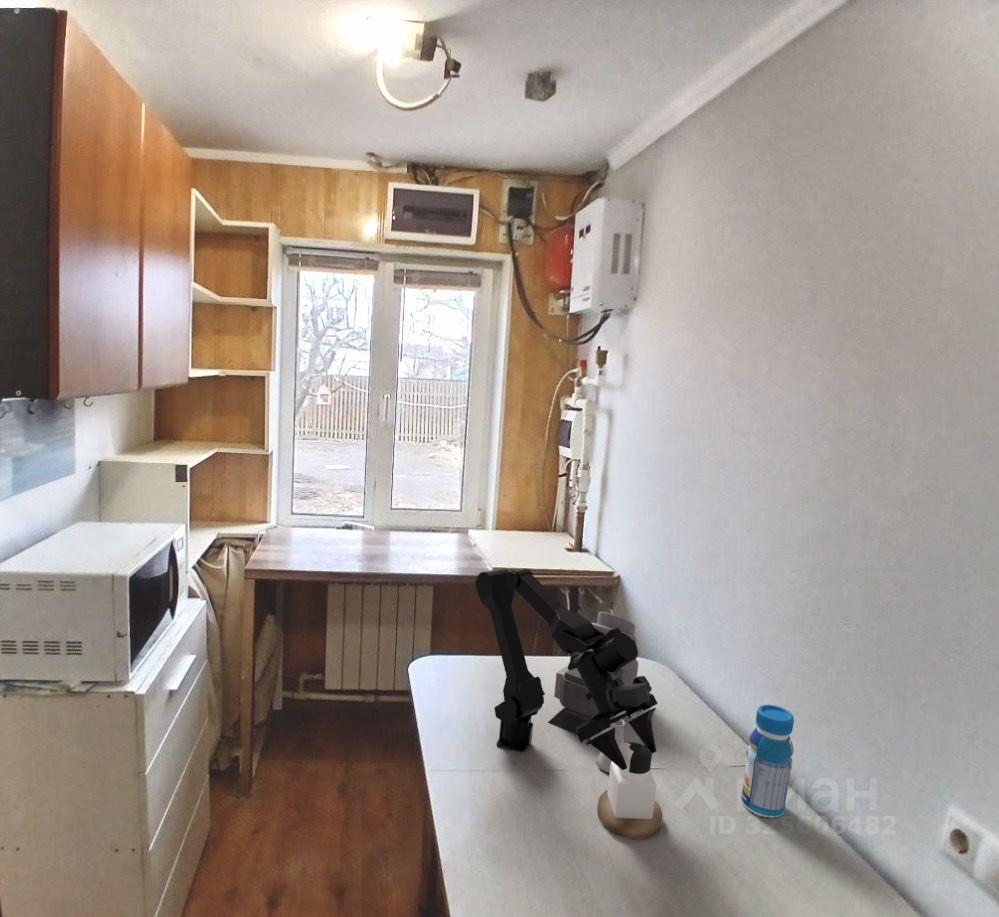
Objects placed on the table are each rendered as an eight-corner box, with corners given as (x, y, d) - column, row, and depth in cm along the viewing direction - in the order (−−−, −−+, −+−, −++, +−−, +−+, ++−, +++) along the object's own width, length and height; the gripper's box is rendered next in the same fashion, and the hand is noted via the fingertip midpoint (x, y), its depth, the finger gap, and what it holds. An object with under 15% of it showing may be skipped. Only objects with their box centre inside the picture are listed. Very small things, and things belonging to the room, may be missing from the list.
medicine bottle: (642, 795, 132) (649, 738, 130) (652, 820, 125) (660, 760, 123) (606, 794, 132) (613, 736, 130) (614, 818, 125) (621, 758, 123)
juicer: (595, 677, 186) (604, 592, 183) (650, 697, 177) (661, 607, 174) (539, 719, 162) (548, 622, 158) (600, 745, 153) (611, 642, 149)
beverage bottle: (764, 824, 129) (778, 727, 127) (730, 798, 137) (743, 705, 134) (794, 814, 133) (808, 719, 131) (760, 789, 141) (773, 698, 138)
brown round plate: (592, 828, 124) (593, 818, 124) (601, 791, 136) (602, 781, 136) (659, 846, 121) (660, 836, 121) (662, 806, 133) (664, 796, 132)
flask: (629, 778, 141) (634, 733, 140) (594, 771, 142) (599, 727, 141) (630, 759, 148) (634, 716, 147) (596, 753, 149) (601, 710, 148)
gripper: (594, 677, 121) (638, 764, 115) (655, 653, 134) (697, 730, 128) (558, 700, 128) (598, 783, 122) (618, 675, 141) (657, 749, 134)
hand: (640, 760), depth 126 cm, fingers open, 9 cm apart
